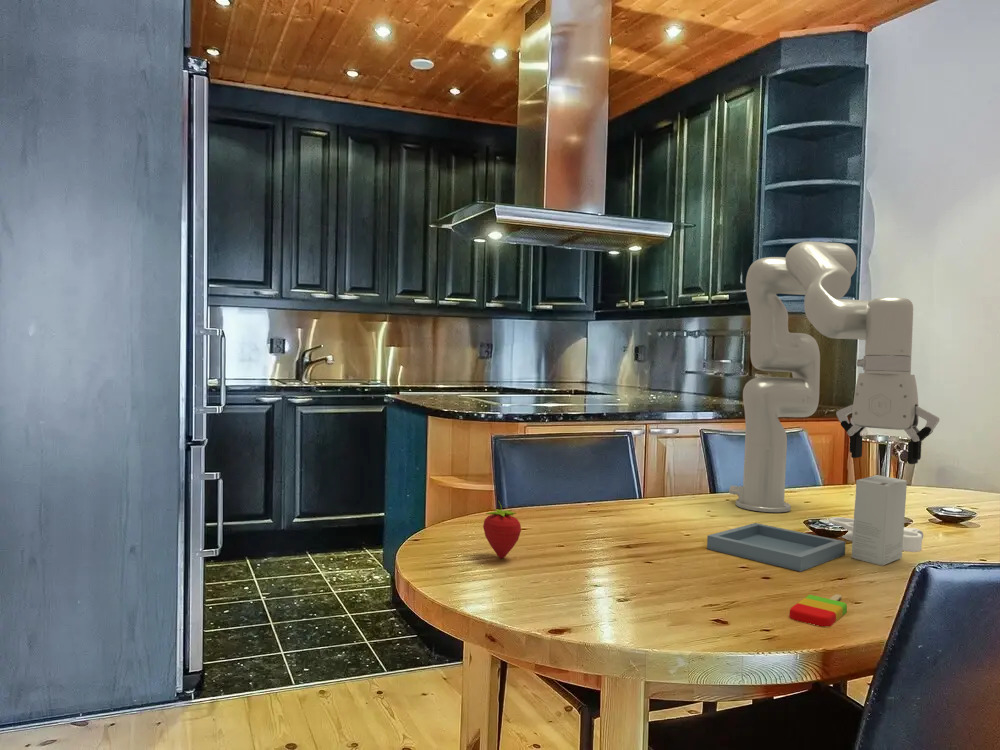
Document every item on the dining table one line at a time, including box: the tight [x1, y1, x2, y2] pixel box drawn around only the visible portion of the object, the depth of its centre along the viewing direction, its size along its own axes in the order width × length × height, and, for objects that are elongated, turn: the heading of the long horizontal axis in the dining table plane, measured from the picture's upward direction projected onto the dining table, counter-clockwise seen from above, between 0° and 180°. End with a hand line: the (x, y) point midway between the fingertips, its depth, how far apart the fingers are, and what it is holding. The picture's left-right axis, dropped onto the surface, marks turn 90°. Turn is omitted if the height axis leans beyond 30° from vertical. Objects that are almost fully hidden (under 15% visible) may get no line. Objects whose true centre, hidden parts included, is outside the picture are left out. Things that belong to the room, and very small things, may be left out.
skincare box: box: [851, 474, 908, 566], centre depth 137 cm, size 8×6×15 cm
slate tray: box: [706, 522, 846, 572], centre depth 140 cm, size 18×18×2 cm
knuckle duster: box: [828, 516, 924, 553], centre depth 152 cm, size 3×18×15 cm
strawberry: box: [482, 500, 522, 559], centre depth 129 cm, size 6×8×10 cm
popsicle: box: [789, 593, 848, 627], centre depth 108 cm, size 6×15×2 cm, turn 140°
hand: (883, 460), depth 136 cm, fingers open, 9 cm apart
